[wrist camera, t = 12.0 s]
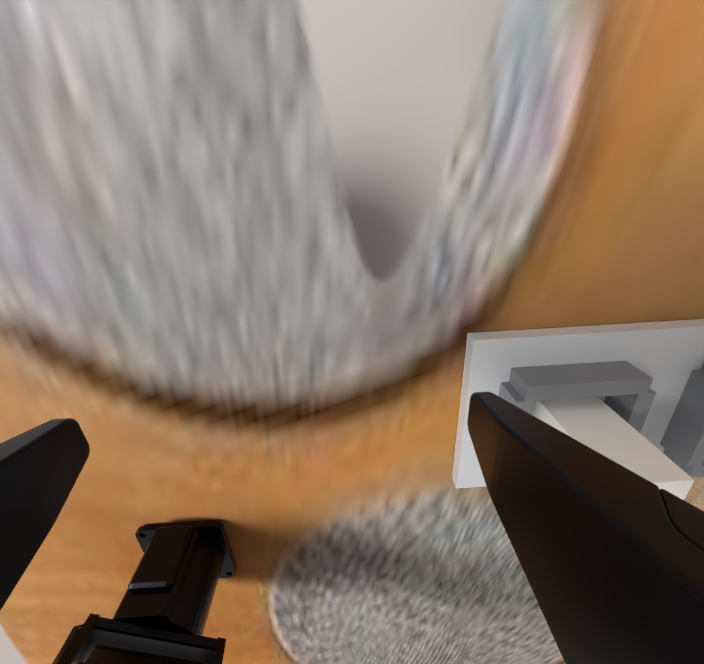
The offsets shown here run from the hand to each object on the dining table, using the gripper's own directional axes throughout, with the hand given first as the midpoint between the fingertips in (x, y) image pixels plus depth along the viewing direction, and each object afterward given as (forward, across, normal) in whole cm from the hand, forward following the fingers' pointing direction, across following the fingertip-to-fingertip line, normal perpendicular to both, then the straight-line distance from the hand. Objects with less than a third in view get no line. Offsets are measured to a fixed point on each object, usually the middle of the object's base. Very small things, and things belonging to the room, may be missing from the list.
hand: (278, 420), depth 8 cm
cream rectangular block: (+11, -15, +10) cm, 21 cm away
